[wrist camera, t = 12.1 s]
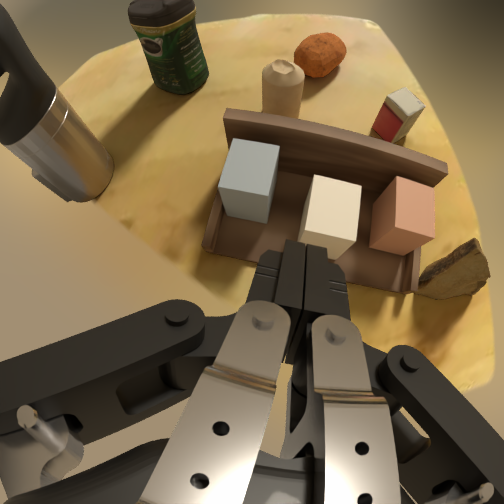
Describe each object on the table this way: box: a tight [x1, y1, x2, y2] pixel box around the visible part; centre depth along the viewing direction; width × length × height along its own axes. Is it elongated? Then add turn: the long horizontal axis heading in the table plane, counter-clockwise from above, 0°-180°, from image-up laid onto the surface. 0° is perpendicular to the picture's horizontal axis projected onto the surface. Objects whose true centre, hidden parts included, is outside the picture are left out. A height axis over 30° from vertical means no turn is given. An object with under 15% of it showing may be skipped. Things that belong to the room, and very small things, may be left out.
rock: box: [414, 238, 490, 300], centre depth 30 cm, size 11×9×10 cm
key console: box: [202, 108, 448, 294], centre depth 31 cm, size 14×26×10 cm, turn 77°
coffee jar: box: [128, 0, 209, 95], centre depth 34 cm, size 10×8×19 cm
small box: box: [372, 87, 425, 143], centre depth 36 cm, size 5×4×8 cm
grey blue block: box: [218, 138, 280, 224], centre depth 32 cm, size 6×5×8 cm
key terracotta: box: [369, 176, 435, 256], centre depth 31 cm, size 6×5×8 cm
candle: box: [262, 59, 305, 119], centre depth 36 cm, size 6×6×10 cm
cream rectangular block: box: [297, 174, 362, 260], centre depth 31 cm, size 6×5×8 cm
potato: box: [294, 33, 347, 78], centre depth 40 cm, size 7×13×7 cm, turn 141°
